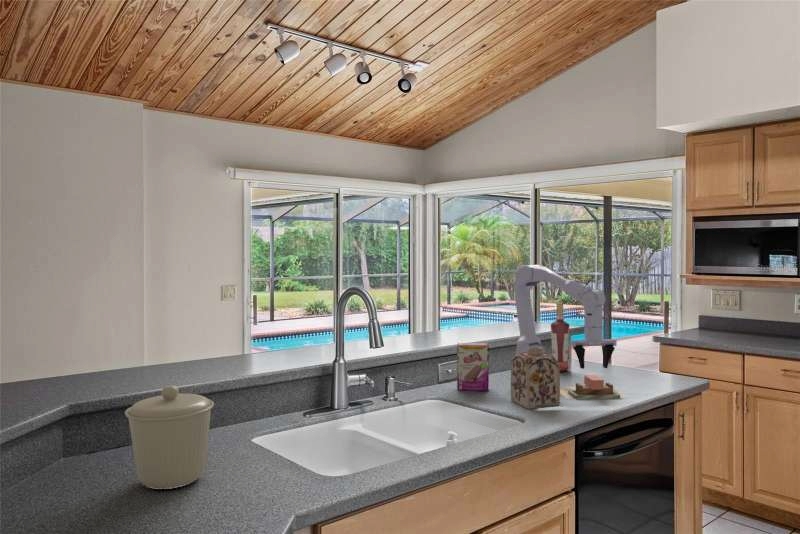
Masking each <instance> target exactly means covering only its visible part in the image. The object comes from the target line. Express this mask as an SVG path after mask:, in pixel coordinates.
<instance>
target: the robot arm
mask: <svg viewBox="0 0 800 534" xmlns="http://www.w3.org/2000/svg"><path fill="white" fill-rule="evenodd" d="M514 276H515V280H514V285H513V295H514V301H515V307H516V308H515V310H516V316H517V322H518V328H519V329H518V331H519V335H520V337H519V338H518V339H517V341H516V350H515V356H516V355H517V354H519V353H522V352H527V349H528V348H532V347H539V348H542V352H544V353H545V349H544V346H543V345H542V342H541V341H542V340H541V338H540V337H539V336H538V335H537V333H536V327H535V320H534V319H535V318H534V314H533V307H532V301H531V300H532V299H531V292H530V291H531V290H532V289H533V288H534V287H535V286H536V285H538V284H539V283H541V282H542V281H545V282H547V283H549V284H552V285H554V286H555V287H558V288H561V289H563V291H564V294H565V296H568V297H570V298H571V299H574V300H576V301H578V302H580V303H581V305H582V307H583V311H584V313H583V314H584V316H583V317H584V329H583V331H584V332H583V333H584V338H582V339H570V346H571V347H573V350H574V352H575V354H576V357H577V359H578V363H579V368H580V369H583V370H584V369H585V356H586V355H585V354H586V348H584V347H601V351H602V367H603V368H605V369H608V365H609V363H610V359H611V356H612V355H613V353H614V351H615V347H616V346H617V345H618V344H617V339H614V338H612V339H611V338H604V333H603V331H604V326H603V325H604V322H603V320H604V319H603V318H604V314H603V313H604V312H603V311H604V310H603V306H604V305H605V304H606V301H607V297H606V295H605V294H606V293H604V291H602V290H601V289H599V288H597V289H595V288H594V289H593V286H592V285H586V284H584V283H582V282H581V280H580V279H577V278H575V279H574V278H573V279H569V280H568V279H567V278H565V277H563V276H562V275H559V274H558V273H556V272H554V271H553V270H551V269H549V268H548V267H546V266H543V265H541V264H529V265H528V264H522V265H520V266H518V268H517V269H516V271H515V272H514Z"/></svg>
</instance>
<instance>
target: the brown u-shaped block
mask: <svg viewBox="0 0 800 534" xmlns="http://www.w3.org/2000/svg"><path fill="white" fill-rule="evenodd" d="M575 387H576V394H577V395H605V394H613V389H614V385H613V384H611V383H610V382H604V389H598V390H592V389H591V388H589V387H588V386H587V385H585V384H583V385H582V384H580V383H579V382H575Z"/></svg>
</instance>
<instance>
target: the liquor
mask: <svg viewBox="0 0 800 534" xmlns="http://www.w3.org/2000/svg"><path fill="white" fill-rule="evenodd" d="M563 309H564V301H556V319H555V321H553V322H552V323H551V324H550V338H551V339H550V340H551V355H553V356H554V357H555V359H556V360H557V362H558V364H559V366H560V367H559V368H560V373H565V372H567V371H568V370H569V369H570V367H569V341H570V324H569V323H568V322H567V321H565V319H564V310H563Z"/></svg>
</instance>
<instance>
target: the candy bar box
mask: <svg viewBox="0 0 800 534" xmlns="http://www.w3.org/2000/svg"><path fill="white" fill-rule="evenodd" d="M456 347H457V350H456V351H457V352H456V353H457V354H456V356H457V357H456V359H457V360H456V365H457V366H456V371H457V372H456V374H457V375H456V377H457V378H456V381H457V382H456V385H457V387H456V389H457V391H463V392H464V391H465V392H466V391H467V392H489V383H490V382H489V376H490V375H489V369H490V368H489V365H490V364H489V363H490V362H489V361H490V359H489V355H490V354H489V353H490V351H489V350H490V349H489V348H490V347H489V343H487V342H486V343H483V342H482V343H478V342H477V343H474V342H471V343H470V342H457V346H456Z"/></svg>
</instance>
